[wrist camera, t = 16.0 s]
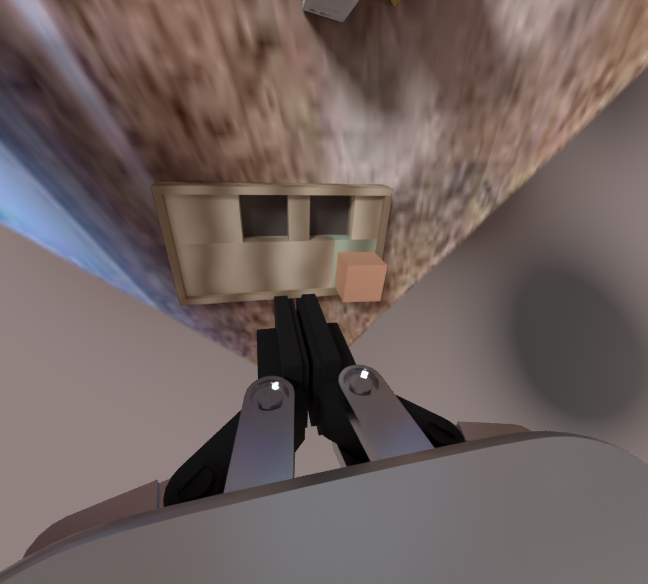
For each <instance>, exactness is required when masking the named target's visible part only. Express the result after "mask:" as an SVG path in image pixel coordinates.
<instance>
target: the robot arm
mask: <svg viewBox="0 0 648 584" xmlns="http://www.w3.org/2000/svg"><path fill="white" fill-rule="evenodd" d="M274 312H275V328H271V329H260V330H257V358H258V380H256V381H255V382H253V383H252V384H251V385H250V386H249V388H248V389H247V391H246V393H245V396H244V401H243V405H242V410H241V411H239V412H238V413H237V414H236V415H235V416H234V417H233V418H232V419H231V420H230V421H229V422H228V423H227V424H226V425H225V426H223V427H222V428H221V429H220V430H219V431H218V432H217V433H216V434H215V435H214V436H213V437H212V438H211V439H210V440H209V441H207V442H206V443H205V444H204V445H203V446H202V447H201V448H200V449H199V450H198V451H197V452H196V453H195V454H194V455H193V456H192V457H190V458H189V459H188V460H187V461H186V462H185V463H184V464H183V465H182V466H181V467H180V468H179V469H178V470H177V471H176V472H175V474H174V475H173V476H172V477H171V478H170V479H168V480H165V481H163V482H161V483H158V480H155V481H152V482H150V483H148V484H145V485H143V486H140V487H138V488H135V489H133V490H130V491H128V492H126V493H123V494H120V495H118V496H115V497H113V498H110V499H108V500H106V501H103V502H101V503H98V504H96V505H93V506H91V507H88V508H86V509H83V510H81V511H79V512H76V513H73V514H71V515H69V516H66V517H64V518H63V519H61V520H59V521H57V522H55V523H54V524H52V525H51V526H50V527H48V528H47V529H46V530H45V531H44V532H42V533H41V534H40V535H39V536H38V537H37V538H36V540H35V541H34V542H33V543H32V544H31V546H30V547H29V548H28V549H27V550H26V552H25V554H24V556H23V558H22V559H21V560H19V561H18V562H16V563H14V564H13V565H11V566H9V567H7V568H6V569H4V570H3V571H1V572H0V584H648V464H647V463H645V462H644V461H642V460H641V459H639V458H638V457H636V456H635V455H633V454H631V453H630V452H628V451H627V450H625V449H623V448H621V447H619V446H617V445H614V444H612V443H609V442H606V441H603V440H601V439H597V438H593V437H589V436H584V435H579V434H574V433H568V432H555V431H531V430H529V429H527V428H525V427H523V426H520V425H514V424H499V423H479V422H459V421H458V423H457V425H454V424H453V423H451V422H450V421H448V420H446V419H445V418H443V417H441V416H438V415H436V414H434V413H432V412H430V411H428V410H426V409H424V408H422V407H420V406H418V405H416V404H414V403H412V402H410V401H407V400H405V399H403V398H401V397H399V396H397V395H395V394H394V393H393V391H392V390H391V389H390V387H389V386H388V385H387V383H386V382H385V380H384V379H383V378H382V376H381V375H380V374H379V373H378V372H377V371H376V370H374V369H372V368H371V367H367V366H365V365H356V363H355V361H354V359H353V357H352V354H351V352H350V350H349V348H348V345H347V343H346V341H345V339H344V337H343V334H342V332H341V330H340V328H339V325H338V324H337V323H336V322H335V323H326V320H325V318H324V315H323V312H322V310H321V307H320V305H319V302H318V300H317V297H316V295H315V294H302V295H301V298H297V300H296V309H295V305H294V301H293V299H288V296H287V295H286V296H274ZM308 413H309V418H310V423H311V426H317V430H318V434H319V435H324V436H325V437H326V438H328V439H329V440H331V441H332V445H333V449H334V452H335V454H336V456H337V459H338V461H339V464H340V466H341V468H339V469H334V470H330V471H325V472H321V473H316V474H311V475H306V476H301V477H297V478H295V477H294V474H295V452H296V450H297V449H298V448H299V446H300V445H301V444H302V442H303V441H304V440H305V428H306V427H307V420H308Z"/></svg>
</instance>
